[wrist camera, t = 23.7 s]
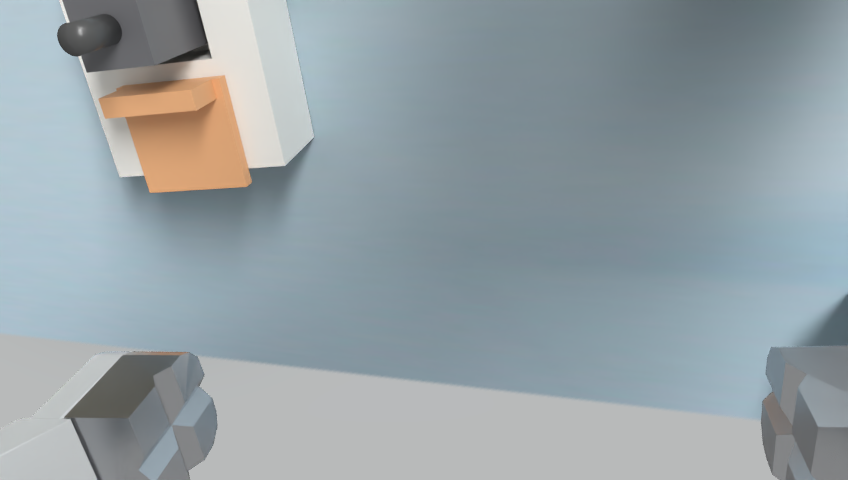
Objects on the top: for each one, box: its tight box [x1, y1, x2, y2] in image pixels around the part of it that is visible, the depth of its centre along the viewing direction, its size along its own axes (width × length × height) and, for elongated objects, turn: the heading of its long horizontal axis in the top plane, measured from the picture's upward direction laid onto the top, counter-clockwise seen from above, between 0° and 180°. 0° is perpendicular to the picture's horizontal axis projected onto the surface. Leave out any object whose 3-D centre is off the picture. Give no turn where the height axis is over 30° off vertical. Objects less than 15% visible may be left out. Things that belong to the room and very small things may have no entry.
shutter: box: [98, 75, 252, 193], centre depth 42 cm, size 7×7×3 cm
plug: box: [57, 0, 208, 73], centre depth 39 cm, size 4×4×12 cm
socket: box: [59, 0, 314, 177], centre depth 44 cm, size 16×12×6 cm
